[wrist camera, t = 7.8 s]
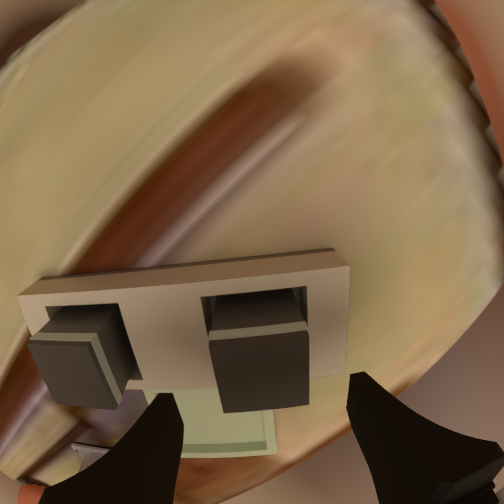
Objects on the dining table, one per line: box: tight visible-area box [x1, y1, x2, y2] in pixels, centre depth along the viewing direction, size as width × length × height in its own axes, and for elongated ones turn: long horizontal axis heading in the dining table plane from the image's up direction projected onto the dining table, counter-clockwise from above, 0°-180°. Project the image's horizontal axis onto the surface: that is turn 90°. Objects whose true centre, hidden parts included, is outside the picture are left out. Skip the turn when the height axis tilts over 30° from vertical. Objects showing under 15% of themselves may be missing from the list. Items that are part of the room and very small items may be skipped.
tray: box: [142, 388, 277, 458], centre depth 21 cm, size 9×9×2 cm
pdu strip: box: [17, 248, 350, 390], centre depth 18 cm, size 7×20×3 cm, turn 96°
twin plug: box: [27, 303, 137, 410], centre depth 16 cm, size 4×4×6 cm
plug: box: [208, 288, 309, 413], centre depth 16 cm, size 4×4×6 cm
